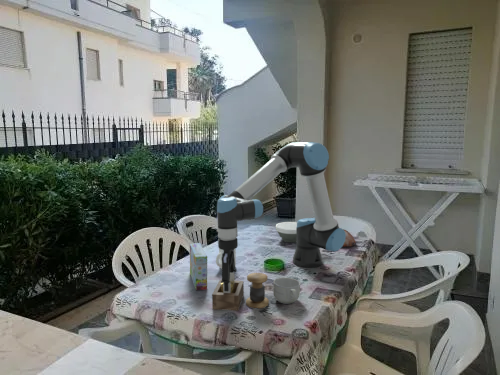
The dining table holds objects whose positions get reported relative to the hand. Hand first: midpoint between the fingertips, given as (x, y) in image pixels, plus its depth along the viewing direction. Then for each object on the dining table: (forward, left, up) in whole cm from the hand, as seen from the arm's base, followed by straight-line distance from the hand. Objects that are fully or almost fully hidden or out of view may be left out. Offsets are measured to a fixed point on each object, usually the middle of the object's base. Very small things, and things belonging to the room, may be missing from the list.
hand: (229, 292), depth 145 cm
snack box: (+18, -19, -4) cm, 26 cm away
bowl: (-23, -88, -4) cm, 91 cm away
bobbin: (-11, 0, -4) cm, 12 cm away
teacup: (-23, -2, -4) cm, 23 cm away
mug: (+9, -36, -4) cm, 37 cm away
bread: (-52, -84, -4) cm, 99 cm away
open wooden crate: (0, 0, -4) cm, 4 cm away
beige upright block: (+1, 0, -3) cm, 3 cm away
